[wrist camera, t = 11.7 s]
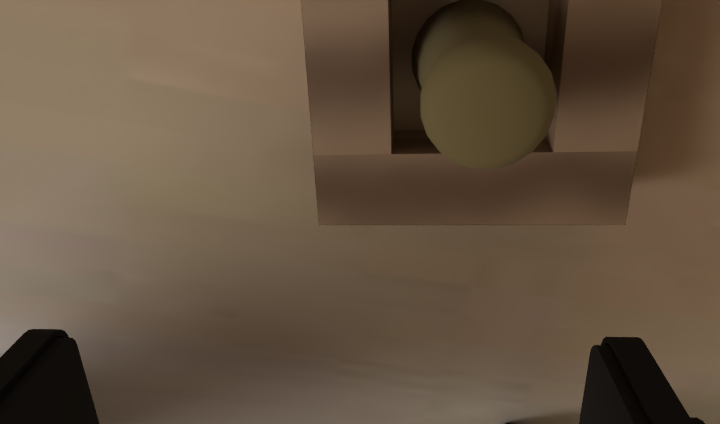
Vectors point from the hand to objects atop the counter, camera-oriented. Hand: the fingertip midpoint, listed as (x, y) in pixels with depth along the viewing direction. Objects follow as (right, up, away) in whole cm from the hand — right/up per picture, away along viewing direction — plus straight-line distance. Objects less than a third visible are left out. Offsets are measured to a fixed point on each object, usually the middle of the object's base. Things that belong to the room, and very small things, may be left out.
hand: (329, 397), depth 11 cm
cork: (+6, +12, +21) cm, 25 cm away
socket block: (+6, +12, +21) cm, 25 cm away
